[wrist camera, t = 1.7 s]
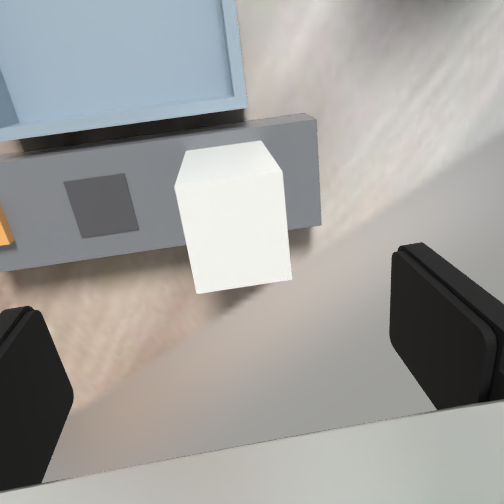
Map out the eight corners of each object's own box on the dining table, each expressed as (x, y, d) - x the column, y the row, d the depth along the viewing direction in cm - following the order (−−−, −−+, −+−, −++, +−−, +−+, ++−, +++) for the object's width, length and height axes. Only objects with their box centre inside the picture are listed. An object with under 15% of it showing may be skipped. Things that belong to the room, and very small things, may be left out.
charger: (257, 134, 23) (282, 171, 15) (265, 209, 25) (292, 279, 17) (188, 143, 23) (174, 186, 14) (201, 218, 25) (196, 294, 16)
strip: (304, 113, 23) (319, 120, 20) (310, 208, 26) (324, 228, 23) (-38, 160, 23) (-80, 175, 20) (2, 253, 25) (-29, 280, 22)
